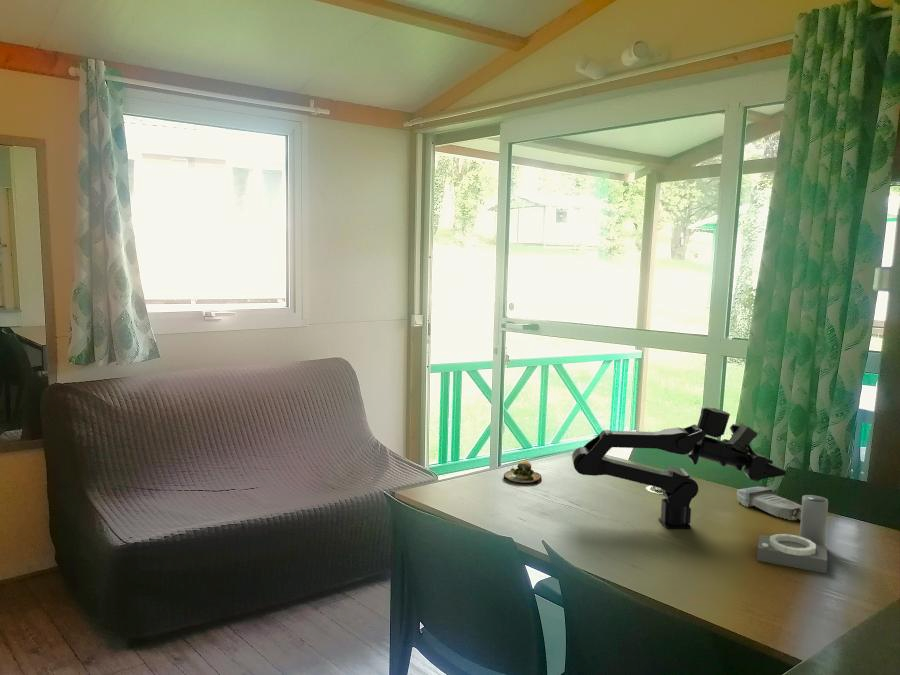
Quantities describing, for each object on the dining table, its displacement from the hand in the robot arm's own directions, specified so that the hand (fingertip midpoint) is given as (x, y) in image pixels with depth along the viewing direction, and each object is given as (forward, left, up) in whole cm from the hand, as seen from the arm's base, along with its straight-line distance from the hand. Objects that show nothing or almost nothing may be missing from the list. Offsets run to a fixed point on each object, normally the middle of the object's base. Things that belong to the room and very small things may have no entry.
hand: (778, 467), depth 174 cm
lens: (+3, -11, -16) cm, 20 cm away
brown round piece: (-59, +42, -17) cm, 74 cm away
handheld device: (+7, +14, -17) cm, 23 cm away
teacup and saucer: (-16, +33, -17) cm, 40 cm away
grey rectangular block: (-6, -18, -16) cm, 25 cm away
